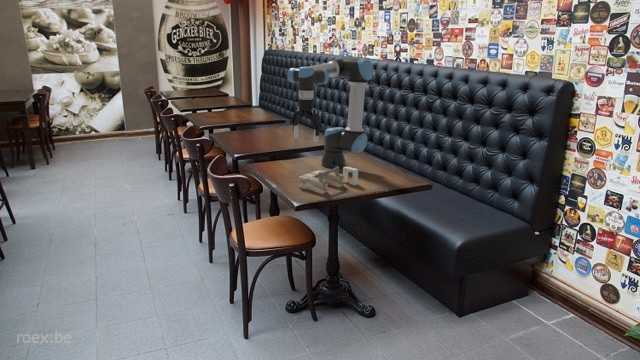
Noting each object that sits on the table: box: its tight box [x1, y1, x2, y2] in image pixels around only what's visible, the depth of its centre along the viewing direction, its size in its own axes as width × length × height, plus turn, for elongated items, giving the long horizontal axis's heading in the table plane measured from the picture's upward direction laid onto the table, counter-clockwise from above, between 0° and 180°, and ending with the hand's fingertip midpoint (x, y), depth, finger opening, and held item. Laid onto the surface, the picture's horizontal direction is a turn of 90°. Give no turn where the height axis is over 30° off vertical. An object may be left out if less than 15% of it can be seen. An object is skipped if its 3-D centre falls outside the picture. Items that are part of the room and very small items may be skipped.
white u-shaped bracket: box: [342, 165, 359, 186], centre depth 259 cm, size 3×8×8 cm, turn 51°
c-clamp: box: [298, 166, 345, 195], centre depth 252 cm, size 18×16×10 cm
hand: (305, 140), depth 245 cm, fingers open, 13 cm apart
